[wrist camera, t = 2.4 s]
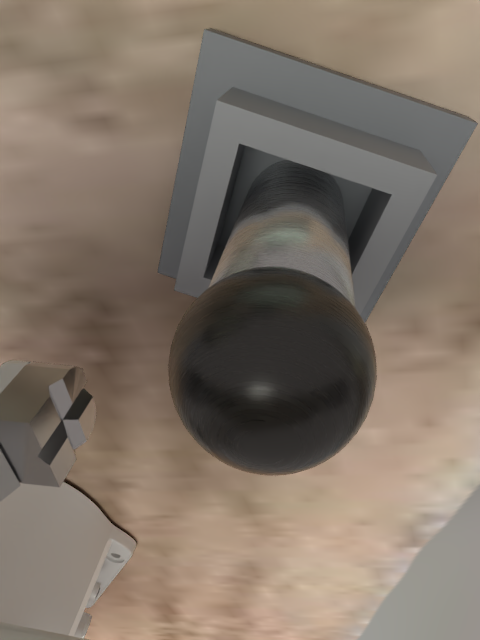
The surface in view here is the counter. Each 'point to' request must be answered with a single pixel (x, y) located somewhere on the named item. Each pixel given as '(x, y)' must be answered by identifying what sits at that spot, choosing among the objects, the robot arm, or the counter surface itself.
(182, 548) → the counter surface
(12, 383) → the robot arm
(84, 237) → the counter surface
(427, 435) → the counter surface
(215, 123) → the socket block
